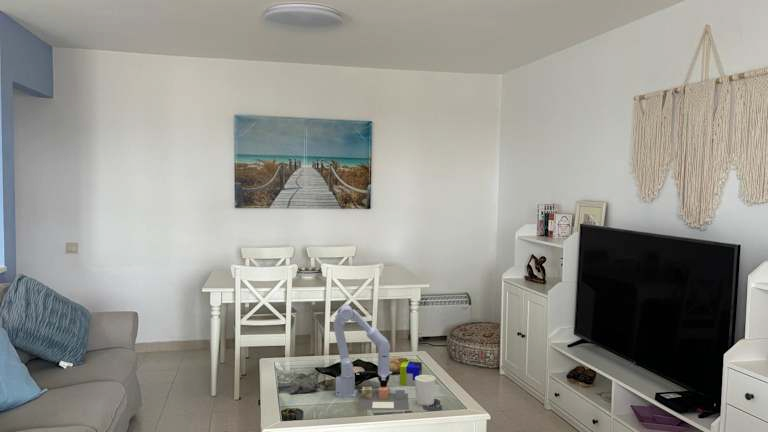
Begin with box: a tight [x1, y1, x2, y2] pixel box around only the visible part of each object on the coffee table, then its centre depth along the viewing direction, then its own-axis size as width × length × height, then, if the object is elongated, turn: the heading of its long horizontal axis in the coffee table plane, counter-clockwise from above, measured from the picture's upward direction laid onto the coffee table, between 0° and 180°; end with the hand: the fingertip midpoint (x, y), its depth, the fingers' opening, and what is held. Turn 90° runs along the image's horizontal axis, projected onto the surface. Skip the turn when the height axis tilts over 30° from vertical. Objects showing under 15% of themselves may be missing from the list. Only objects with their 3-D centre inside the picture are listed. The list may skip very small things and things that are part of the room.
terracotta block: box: [378, 386, 389, 399], centre depth 282 cm, size 4×4×4 cm
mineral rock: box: [290, 372, 320, 395], centre depth 290 cm, size 13×11×10 cm
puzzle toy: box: [399, 361, 423, 387], centre depth 305 cm, size 10×10×10 cm
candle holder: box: [415, 374, 437, 406], centre depth 276 cm, size 10×10×12 cm
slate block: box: [394, 386, 406, 399], centre depth 282 cm, size 4×4×4 cm
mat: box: [356, 392, 410, 411], centre depth 277 cm, size 24×22×1 cm
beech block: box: [361, 386, 373, 399], centre depth 282 cm, size 4×4×4 cm
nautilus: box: [389, 356, 414, 374], centre depth 324 cm, size 8×22×15 cm
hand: (383, 390), depth 289 cm, fingers closed
